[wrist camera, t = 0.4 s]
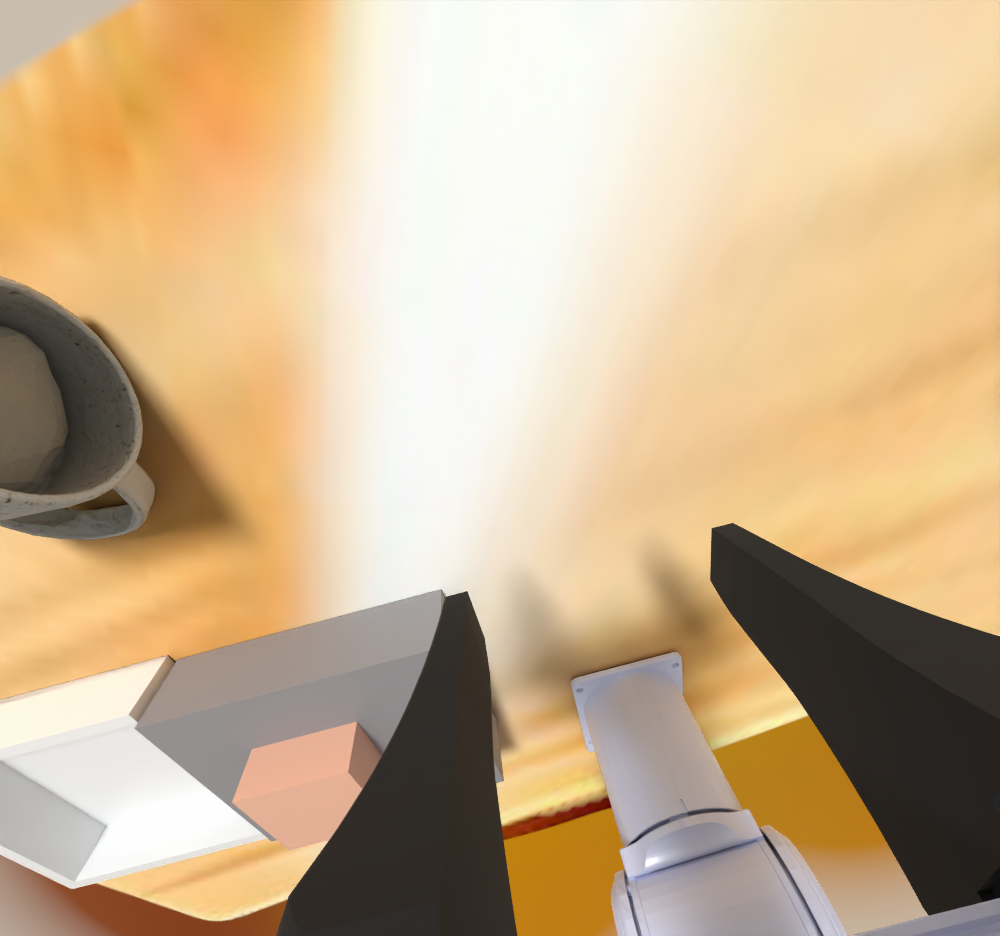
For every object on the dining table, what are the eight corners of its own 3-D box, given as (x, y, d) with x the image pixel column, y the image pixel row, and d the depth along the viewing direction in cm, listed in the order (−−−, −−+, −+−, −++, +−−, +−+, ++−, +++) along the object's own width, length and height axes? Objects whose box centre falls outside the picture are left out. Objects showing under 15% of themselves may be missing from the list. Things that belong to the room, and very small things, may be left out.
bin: (289, 779, 32) (273, 836, 29) (107, 826, 32) (71, 889, 29) (167, 655, 24) (128, 714, 21) (-70, 718, 25) (-142, 786, 22)
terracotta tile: (395, 774, 26) (390, 823, 24) (302, 799, 26) (289, 850, 24) (356, 721, 23) (348, 771, 21) (251, 749, 23) (231, 802, 21)
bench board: (496, 720, 31) (503, 780, 28) (290, 774, 32) (271, 841, 28) (440, 589, 25) (440, 647, 21) (177, 659, 25) (134, 728, 21)
